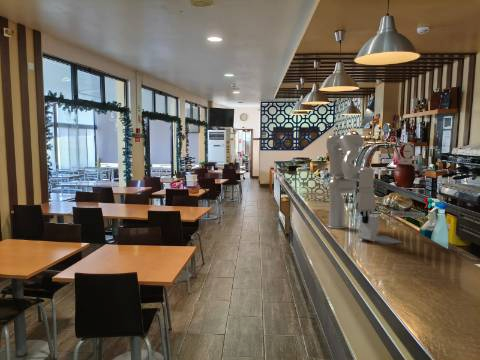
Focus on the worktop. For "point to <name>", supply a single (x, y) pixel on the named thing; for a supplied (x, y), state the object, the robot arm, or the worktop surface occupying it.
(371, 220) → the small box
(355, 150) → the robot arm
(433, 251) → the worktop surface
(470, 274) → the worktop surface
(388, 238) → the mat
